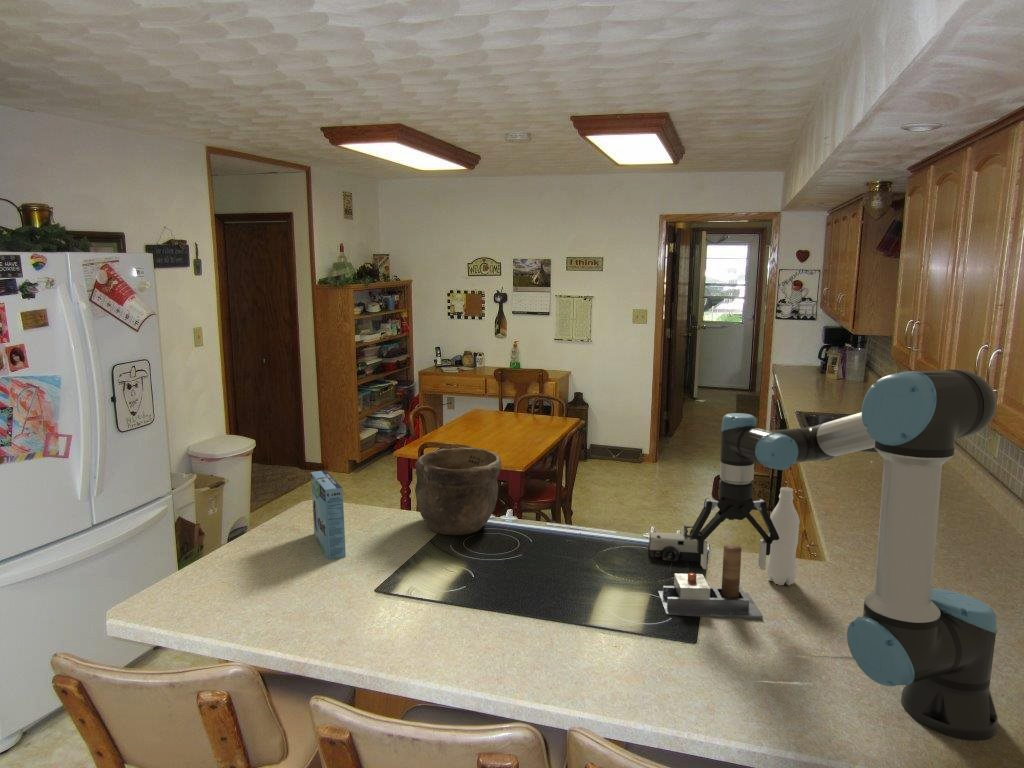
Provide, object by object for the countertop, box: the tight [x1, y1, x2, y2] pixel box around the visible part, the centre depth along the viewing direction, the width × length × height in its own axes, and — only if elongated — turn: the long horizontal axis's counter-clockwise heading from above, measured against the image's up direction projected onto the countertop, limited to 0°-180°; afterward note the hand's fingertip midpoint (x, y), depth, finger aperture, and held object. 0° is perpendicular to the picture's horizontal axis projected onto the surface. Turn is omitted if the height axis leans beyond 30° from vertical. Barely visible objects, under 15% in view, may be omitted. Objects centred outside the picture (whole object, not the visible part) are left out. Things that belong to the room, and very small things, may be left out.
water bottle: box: [766, 486, 801, 586], centre depth 181 cm, size 7×7×25 cm
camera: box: [647, 524, 701, 563], centre depth 196 cm, size 15×8×10 cm, turn 78°
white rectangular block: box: [673, 572, 711, 600], centre depth 168 cm, size 8×7×4 cm
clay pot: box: [414, 447, 502, 536], centre depth 212 cm, size 26×26×25 cm
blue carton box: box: [310, 470, 347, 560], centre depth 195 cm, size 20×5×23 cm, turn 26°
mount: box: [658, 585, 764, 621], centre depth 169 cm, size 12×22×4 cm, turn 88°
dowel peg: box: [721, 543, 742, 598], centre depth 168 cm, size 4×4×14 cm
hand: (732, 567), depth 167 cm, fingers open, 13 cm apart
